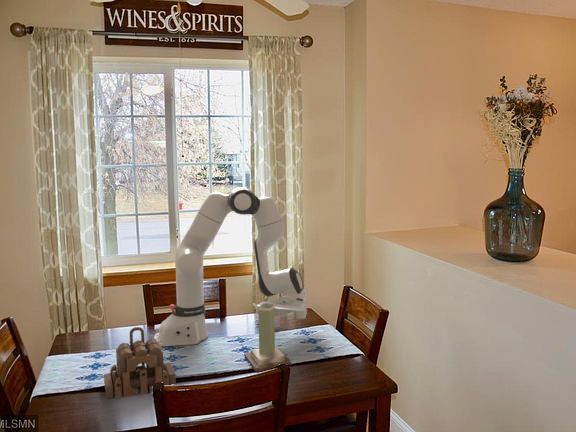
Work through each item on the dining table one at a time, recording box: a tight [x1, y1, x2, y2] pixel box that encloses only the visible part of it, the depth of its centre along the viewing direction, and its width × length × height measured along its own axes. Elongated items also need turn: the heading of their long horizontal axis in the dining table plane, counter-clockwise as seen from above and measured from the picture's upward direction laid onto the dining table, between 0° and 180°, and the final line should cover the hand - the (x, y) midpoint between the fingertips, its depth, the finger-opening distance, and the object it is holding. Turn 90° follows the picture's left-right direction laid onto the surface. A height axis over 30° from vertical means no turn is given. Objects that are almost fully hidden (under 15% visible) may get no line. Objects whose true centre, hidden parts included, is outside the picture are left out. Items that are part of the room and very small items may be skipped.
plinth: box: [243, 345, 293, 372], centre depth 184 cm, size 14×14×3 cm
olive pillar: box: [258, 304, 276, 356], centre depth 183 cm, size 5×5×18 cm
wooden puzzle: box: [103, 326, 177, 400], centre depth 165 cm, size 22×15×19 cm, turn 114°
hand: (275, 316), depth 190 cm, fingers open, 8 cm apart
